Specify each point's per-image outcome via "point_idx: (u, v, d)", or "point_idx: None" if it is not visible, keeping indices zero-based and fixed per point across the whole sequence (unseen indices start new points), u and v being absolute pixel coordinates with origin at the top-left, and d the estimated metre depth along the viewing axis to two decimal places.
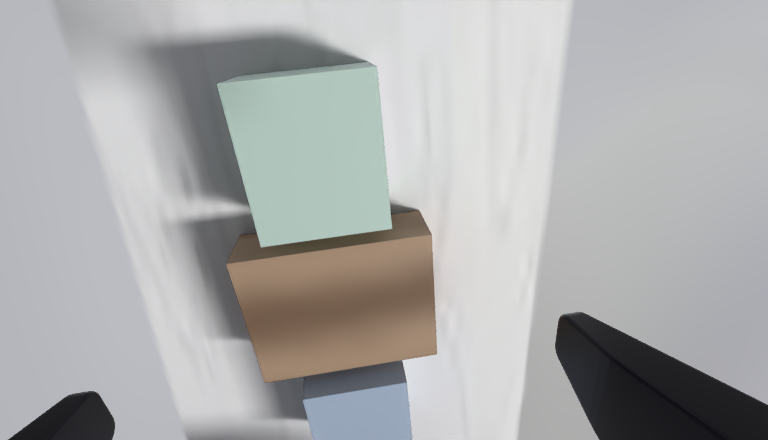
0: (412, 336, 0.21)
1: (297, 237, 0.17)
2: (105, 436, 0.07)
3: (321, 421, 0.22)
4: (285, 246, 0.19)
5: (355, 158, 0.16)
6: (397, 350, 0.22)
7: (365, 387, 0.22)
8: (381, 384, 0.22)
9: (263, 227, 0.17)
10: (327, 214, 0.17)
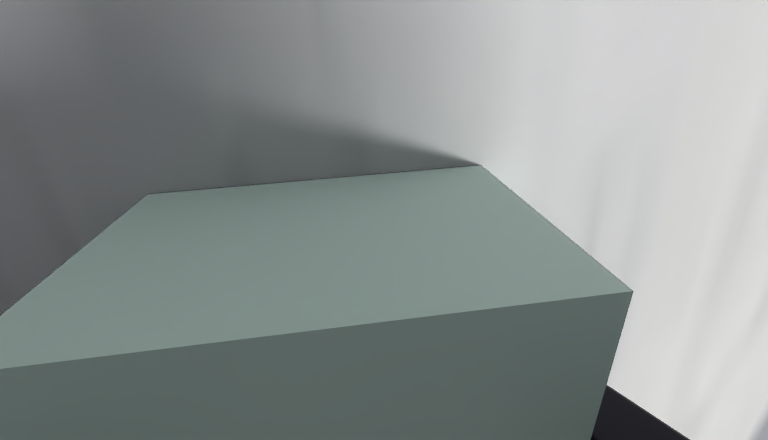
0: None
1: None
2: None
3: None
4: None
5: None
6: None
7: None
8: None
9: None
10: None
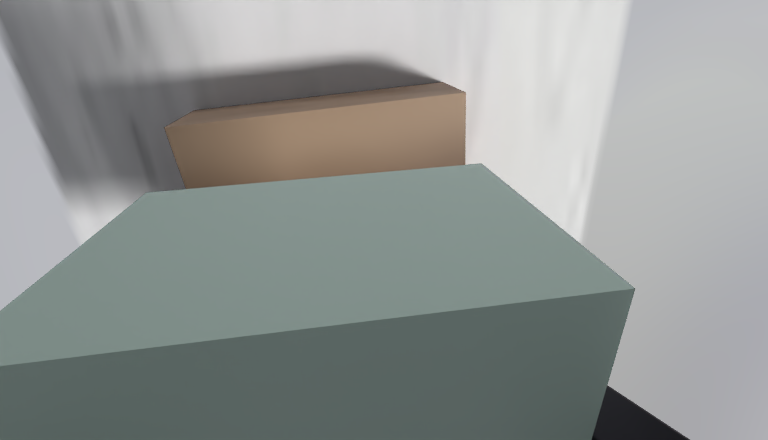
0: None
1: None
2: None
3: None
4: (254, 112, 0.13)
5: None
6: None
7: None
8: None
9: None
10: None
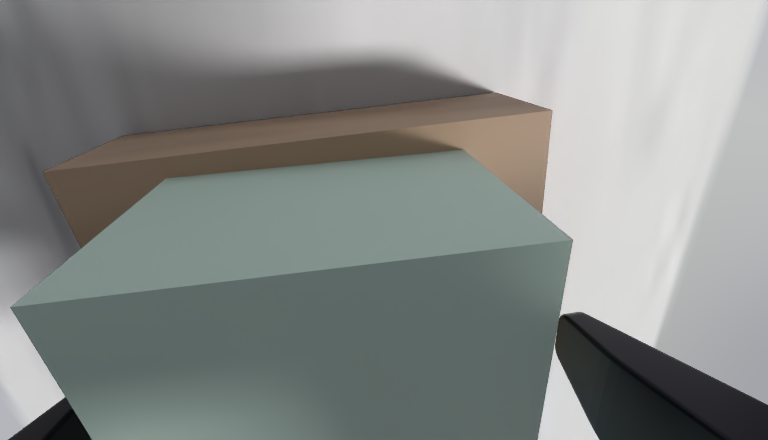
0: None
1: None
2: None
3: None
4: (204, 142, 0.08)
5: None
6: None
7: None
8: None
9: None
10: None
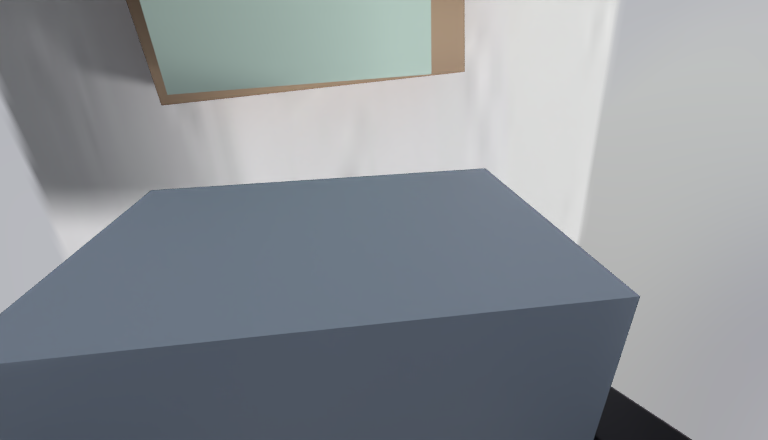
0: None
1: (242, 77, 0.08)
2: None
3: None
4: None
5: None
6: None
7: (382, 315, 0.03)
8: (483, 303, 0.04)
9: (169, 46, 0.08)
10: (303, 26, 0.08)
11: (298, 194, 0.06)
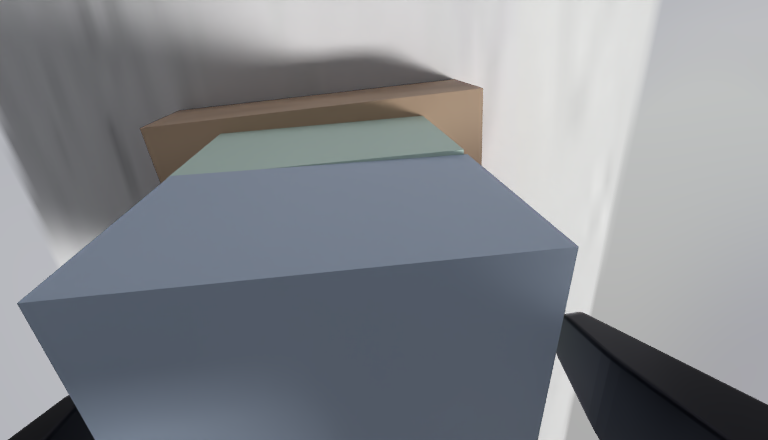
0: None
1: None
2: None
3: (154, 425, 0.05)
4: (243, 111, 0.12)
5: None
6: None
7: (368, 261, 0.04)
8: (450, 253, 0.04)
9: None
10: None
11: (299, 177, 0.07)
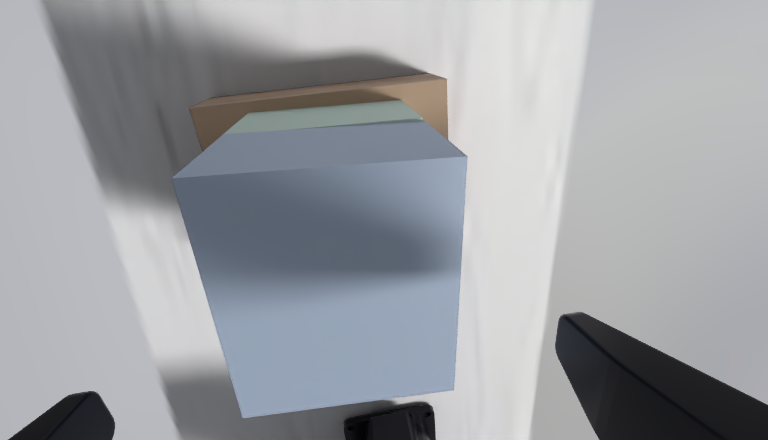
0: None
1: None
2: (105, 436, 0.07)
3: (231, 261, 0.08)
4: (265, 96, 0.15)
5: None
6: None
7: (352, 162, 0.08)
8: (397, 159, 0.08)
9: None
10: None
11: (311, 133, 0.11)
